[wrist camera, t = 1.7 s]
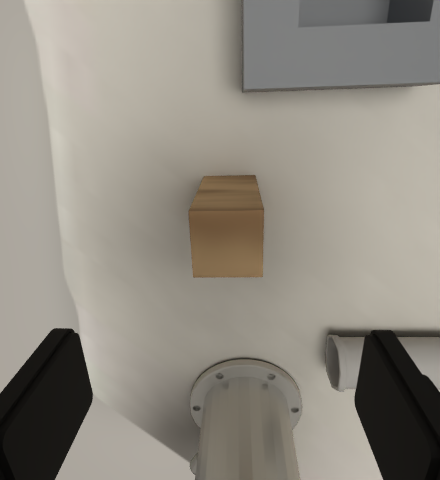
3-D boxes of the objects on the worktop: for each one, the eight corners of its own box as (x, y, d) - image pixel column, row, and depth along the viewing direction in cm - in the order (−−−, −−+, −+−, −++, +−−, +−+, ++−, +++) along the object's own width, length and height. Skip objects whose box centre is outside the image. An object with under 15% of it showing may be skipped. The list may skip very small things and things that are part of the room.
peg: (254, 223, 30) (262, 277, 21) (206, 224, 30) (193, 277, 21) (255, 175, 29) (263, 210, 19) (204, 176, 29) (188, 211, 20)
